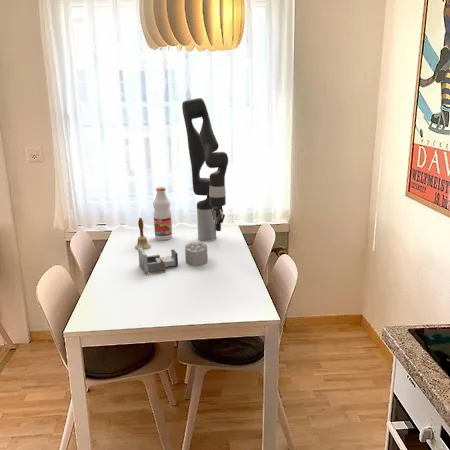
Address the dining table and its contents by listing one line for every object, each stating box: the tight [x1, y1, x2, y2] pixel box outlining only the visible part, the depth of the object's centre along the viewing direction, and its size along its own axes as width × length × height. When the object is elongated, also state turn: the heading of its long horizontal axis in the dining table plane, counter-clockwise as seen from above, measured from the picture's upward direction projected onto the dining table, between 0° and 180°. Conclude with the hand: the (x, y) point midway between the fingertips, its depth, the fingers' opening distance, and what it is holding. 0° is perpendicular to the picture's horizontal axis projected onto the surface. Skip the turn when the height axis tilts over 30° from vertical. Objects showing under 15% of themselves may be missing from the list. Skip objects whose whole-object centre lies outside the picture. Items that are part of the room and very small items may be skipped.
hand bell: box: [134, 217, 152, 251], centre depth 255 cm, size 8×8×16 cm
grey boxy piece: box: [155, 249, 179, 268], centre depth 228 cm, size 9×11×6 cm
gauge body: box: [137, 247, 166, 275], centre depth 227 cm, size 10×14×9 cm
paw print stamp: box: [184, 241, 209, 267], centre depth 235 cm, size 10×13×9 cm
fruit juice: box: [152, 186, 173, 241], centre depth 268 cm, size 9×9×28 cm
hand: (218, 230), depth 236 cm, fingers closed
